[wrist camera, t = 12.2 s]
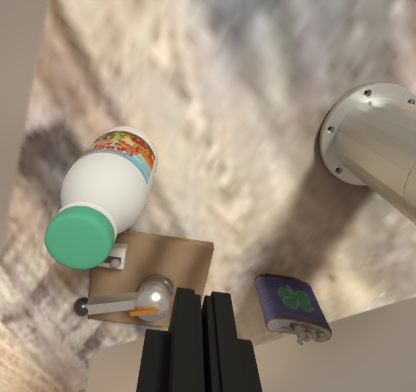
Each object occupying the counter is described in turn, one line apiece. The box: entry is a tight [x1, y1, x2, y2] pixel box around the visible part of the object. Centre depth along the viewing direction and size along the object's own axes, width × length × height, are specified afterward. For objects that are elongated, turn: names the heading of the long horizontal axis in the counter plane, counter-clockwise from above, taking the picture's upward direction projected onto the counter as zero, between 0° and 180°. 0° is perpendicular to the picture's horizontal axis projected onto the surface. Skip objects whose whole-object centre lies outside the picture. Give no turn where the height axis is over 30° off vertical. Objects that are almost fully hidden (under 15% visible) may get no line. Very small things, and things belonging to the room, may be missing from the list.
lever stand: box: [88, 230, 214, 327], centre depth 47 cm, size 16×15×5 cm
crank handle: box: [74, 274, 173, 322], centre depth 45 cm, size 13×4×5 cm, turn 96°
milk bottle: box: [45, 126, 158, 269], centre depth 32 cm, size 8×8×20 cm
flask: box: [255, 274, 332, 345], centre depth 46 cm, size 9×3×11 cm, turn 73°
